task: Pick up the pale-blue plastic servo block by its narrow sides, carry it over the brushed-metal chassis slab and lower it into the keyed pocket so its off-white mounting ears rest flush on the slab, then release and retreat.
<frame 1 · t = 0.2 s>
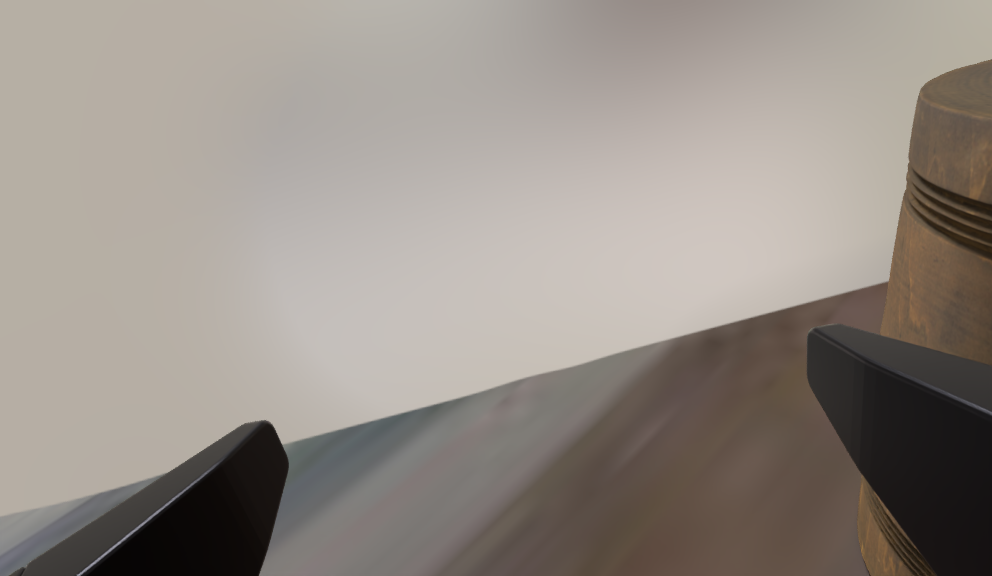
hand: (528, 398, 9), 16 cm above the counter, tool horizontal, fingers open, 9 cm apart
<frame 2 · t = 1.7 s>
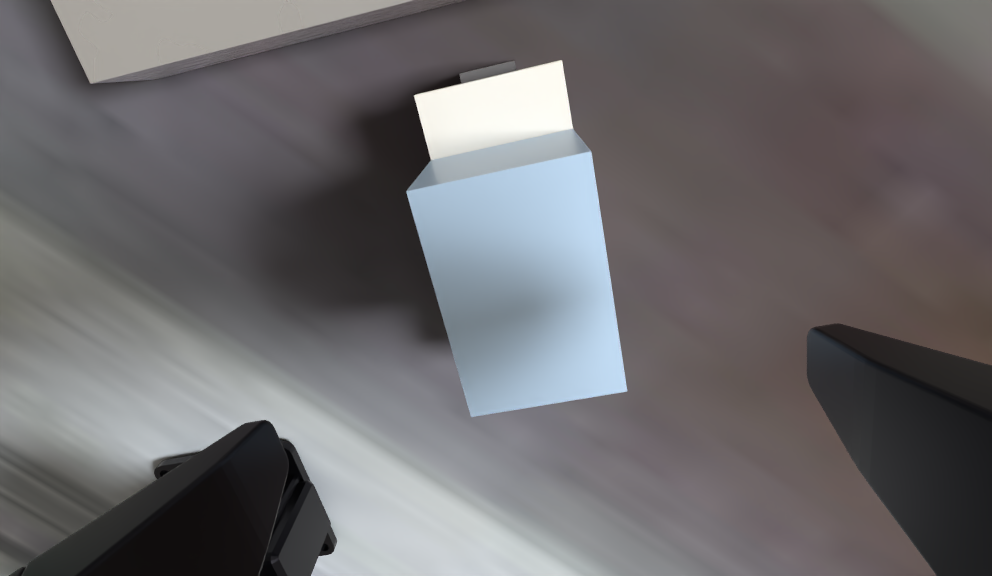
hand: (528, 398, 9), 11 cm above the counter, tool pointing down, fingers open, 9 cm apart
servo: (520, 212, 19), on the counter
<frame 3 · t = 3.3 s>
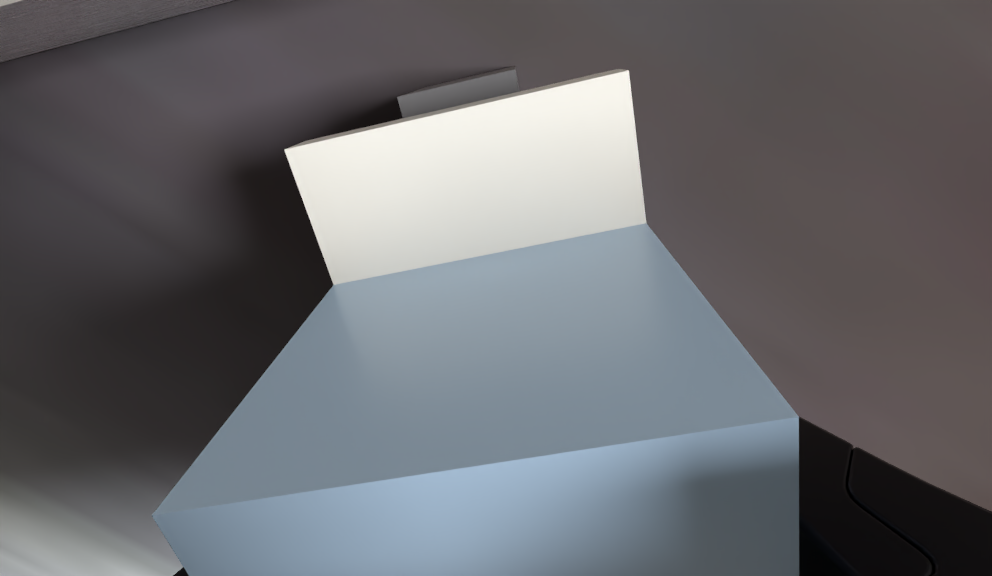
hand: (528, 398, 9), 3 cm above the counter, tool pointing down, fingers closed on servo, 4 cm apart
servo: (525, 327, 11), on the counter, touching gripper
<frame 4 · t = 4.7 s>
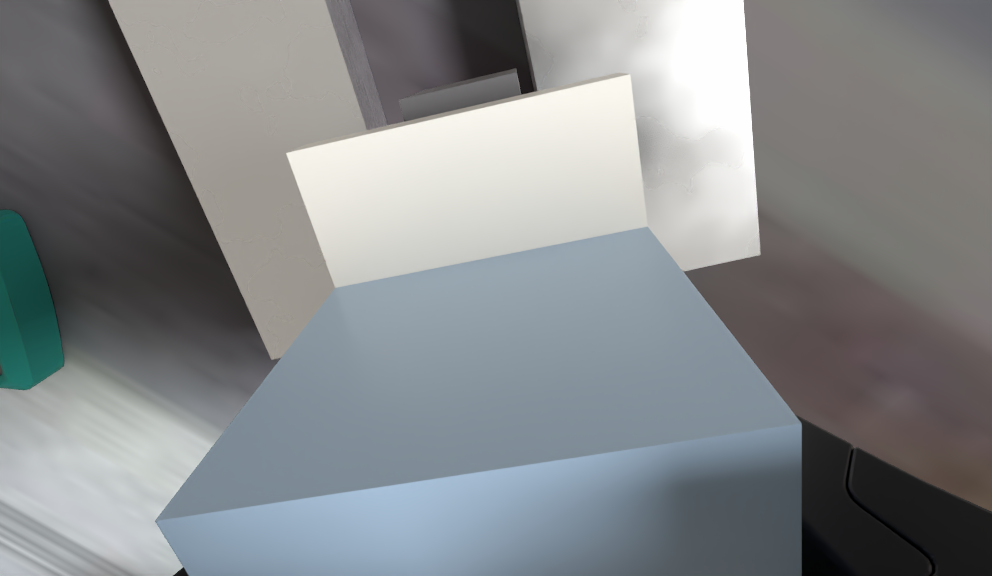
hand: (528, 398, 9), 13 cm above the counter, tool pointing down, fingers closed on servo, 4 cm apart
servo: (526, 329, 11), point 11 cm above the counter, touching gripper
chassis: (451, 76, 19), on the counter
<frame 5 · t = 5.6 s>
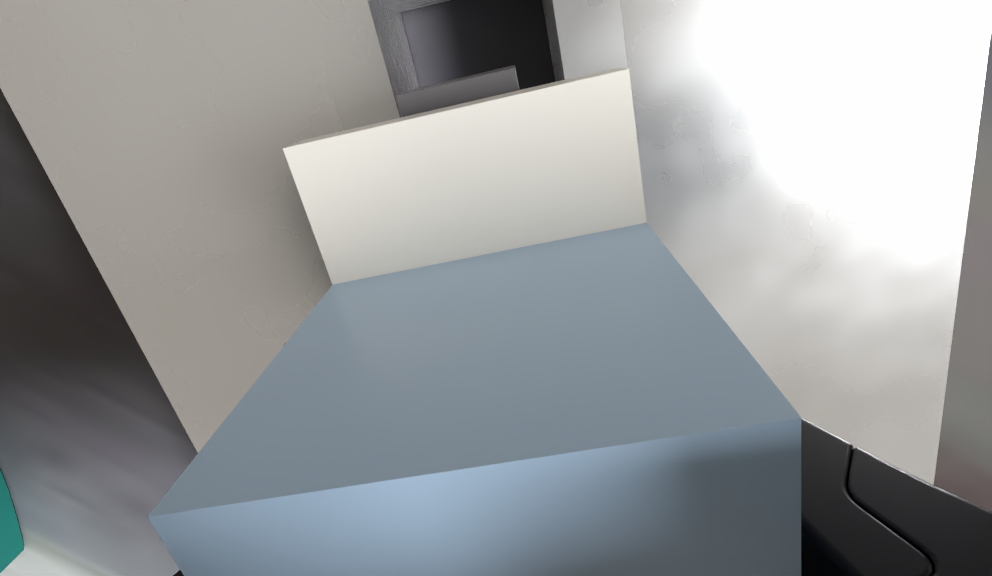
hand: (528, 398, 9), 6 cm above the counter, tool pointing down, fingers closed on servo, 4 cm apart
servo: (525, 327, 11), point 4 cm above the counter, touching gripper
chassis: (524, 260, 15), on the counter
when the fingers open (4 cm above the counter, at t = 6.4 s): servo drops 1 cm, resting on chassis.
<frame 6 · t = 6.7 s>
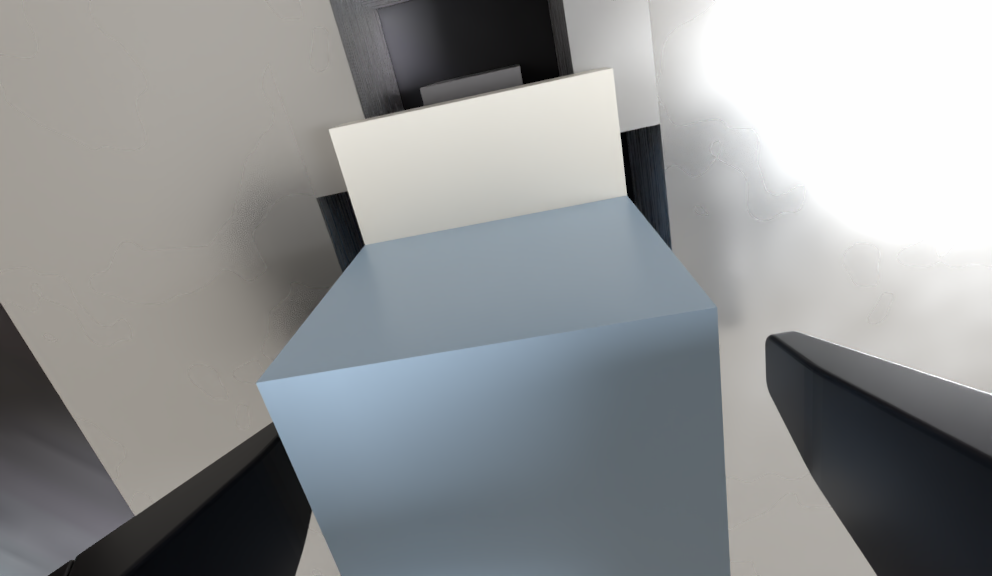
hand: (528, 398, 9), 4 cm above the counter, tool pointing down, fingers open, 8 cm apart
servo: (524, 298, 13), resting on chassis
chassis: (524, 297, 13), on the counter
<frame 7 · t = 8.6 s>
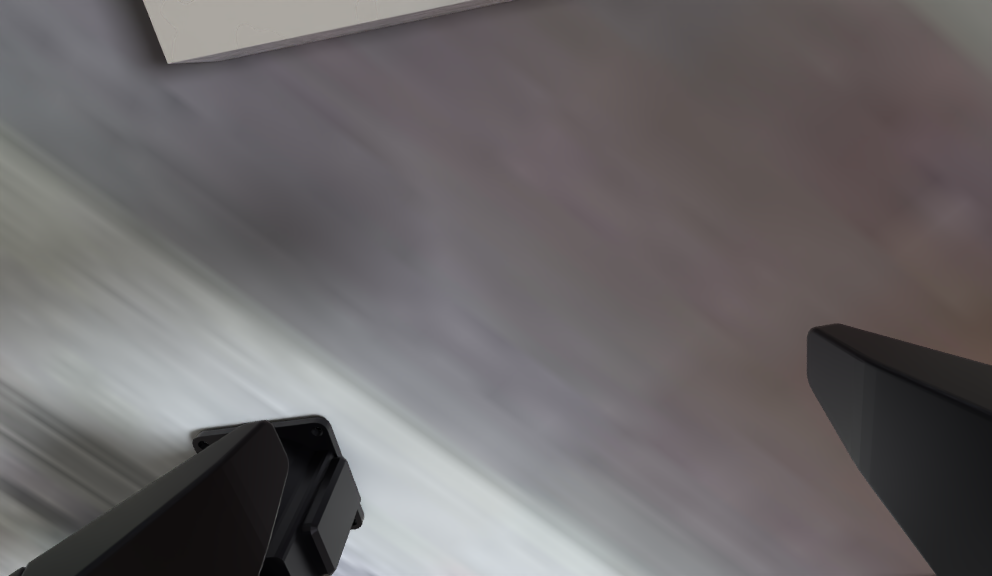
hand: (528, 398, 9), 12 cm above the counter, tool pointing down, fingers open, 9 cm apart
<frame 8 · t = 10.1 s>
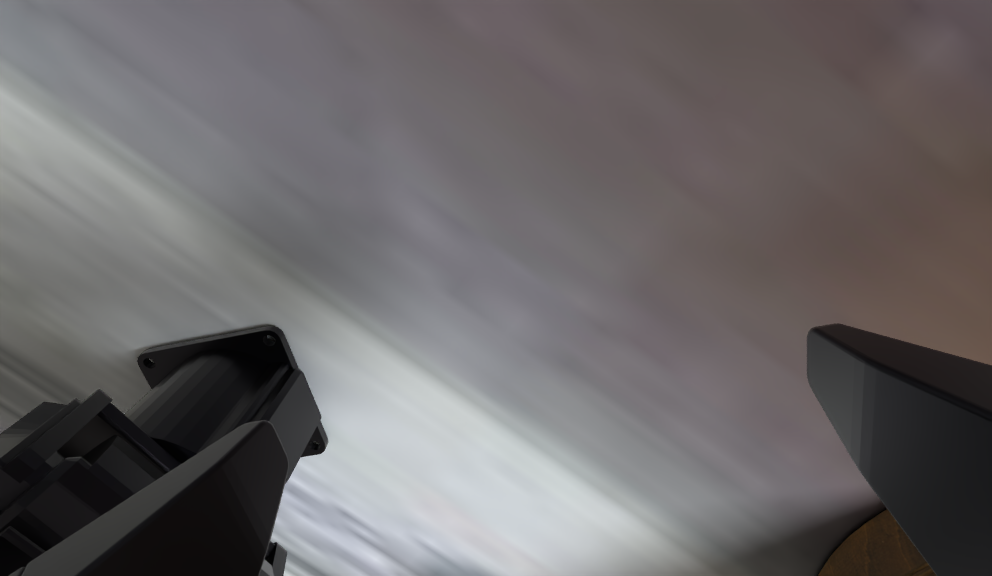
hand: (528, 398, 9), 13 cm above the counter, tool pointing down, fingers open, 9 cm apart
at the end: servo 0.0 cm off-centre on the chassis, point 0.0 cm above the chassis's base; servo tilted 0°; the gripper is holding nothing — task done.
